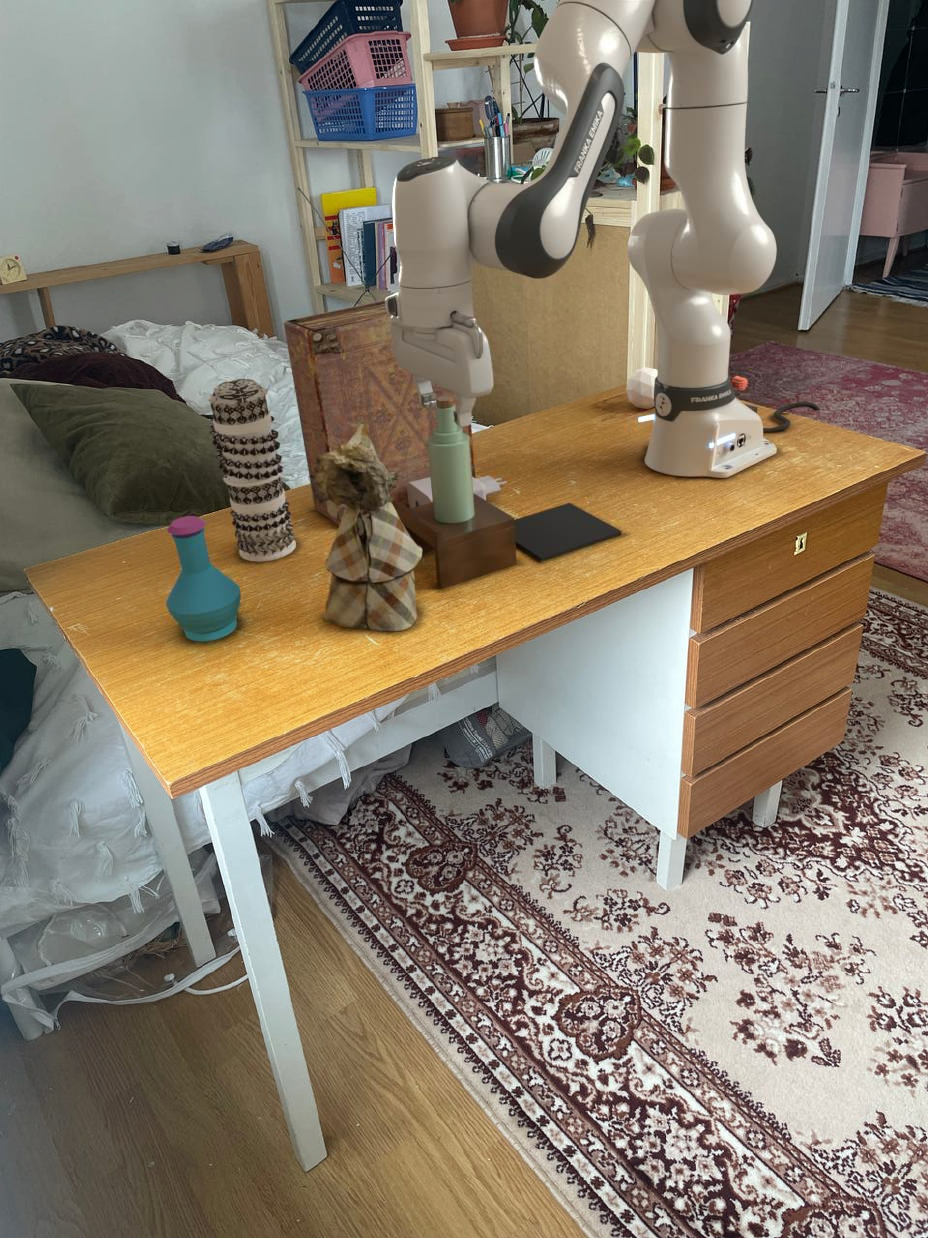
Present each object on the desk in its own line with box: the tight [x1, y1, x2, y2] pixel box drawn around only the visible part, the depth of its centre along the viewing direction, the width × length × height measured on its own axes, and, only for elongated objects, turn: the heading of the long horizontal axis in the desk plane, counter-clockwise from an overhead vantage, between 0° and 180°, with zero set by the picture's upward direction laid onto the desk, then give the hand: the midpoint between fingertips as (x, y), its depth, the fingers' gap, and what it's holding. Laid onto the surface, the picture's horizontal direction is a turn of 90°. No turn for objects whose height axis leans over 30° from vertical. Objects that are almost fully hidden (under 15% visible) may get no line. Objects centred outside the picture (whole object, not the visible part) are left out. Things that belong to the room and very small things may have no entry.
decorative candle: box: [207, 378, 297, 563], centre depth 134 cm, size 9×9×25 cm
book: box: [283, 299, 476, 526], centre depth 146 cm, size 25×9×30 cm, turn 123°
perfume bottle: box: [165, 515, 242, 642], centre depth 118 cm, size 9×9×15 cm
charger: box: [407, 475, 508, 508], centre depth 148 cm, size 5×9×15 cm
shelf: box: [395, 493, 518, 590], centre depth 131 cm, size 12×12×8 cm
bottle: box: [427, 396, 475, 523], centre depth 125 cm, size 6×6×16 cm
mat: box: [514, 502, 622, 562], centre depth 138 cm, size 14×13×1 cm
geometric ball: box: [625, 366, 658, 410], centre depth 182 cm, size 8×8×8 cm
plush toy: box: [308, 424, 423, 632], centre depth 116 cm, size 14×14×25 cm
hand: (445, 415), depth 122 cm, fingers open, 8 cm apart
